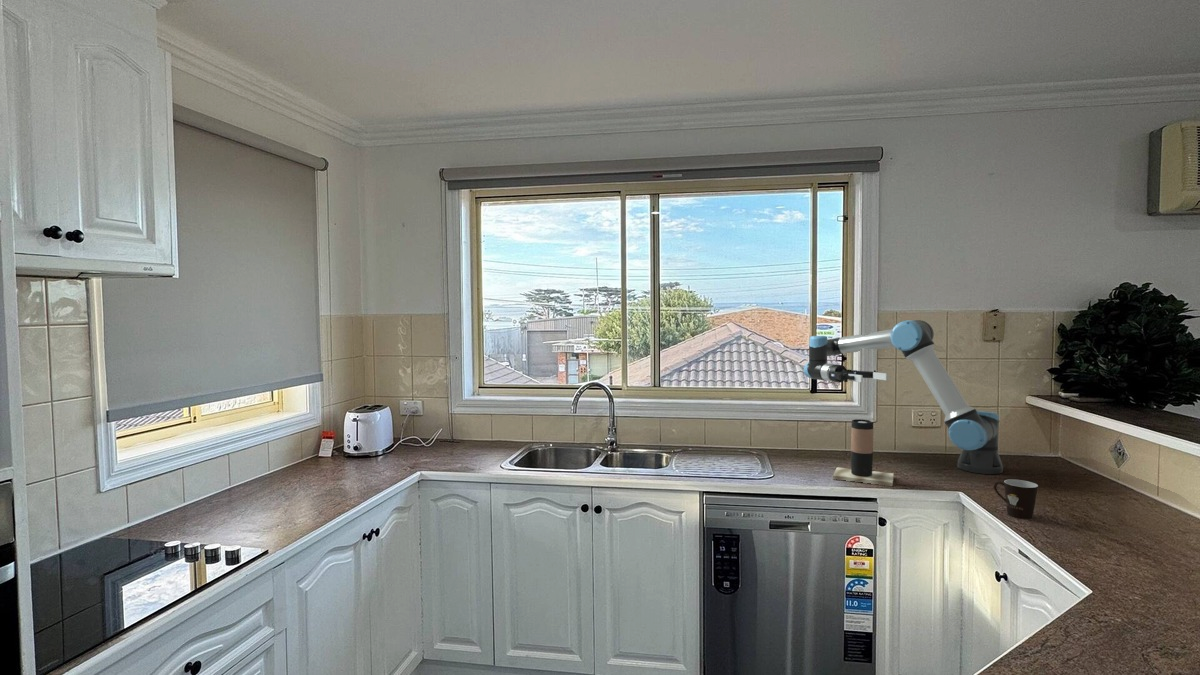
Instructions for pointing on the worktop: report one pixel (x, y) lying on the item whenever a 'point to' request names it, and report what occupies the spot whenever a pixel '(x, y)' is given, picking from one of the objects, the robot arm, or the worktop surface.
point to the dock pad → (876, 477)
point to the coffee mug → (1019, 498)
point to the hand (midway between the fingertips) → (874, 377)
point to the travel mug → (862, 447)
